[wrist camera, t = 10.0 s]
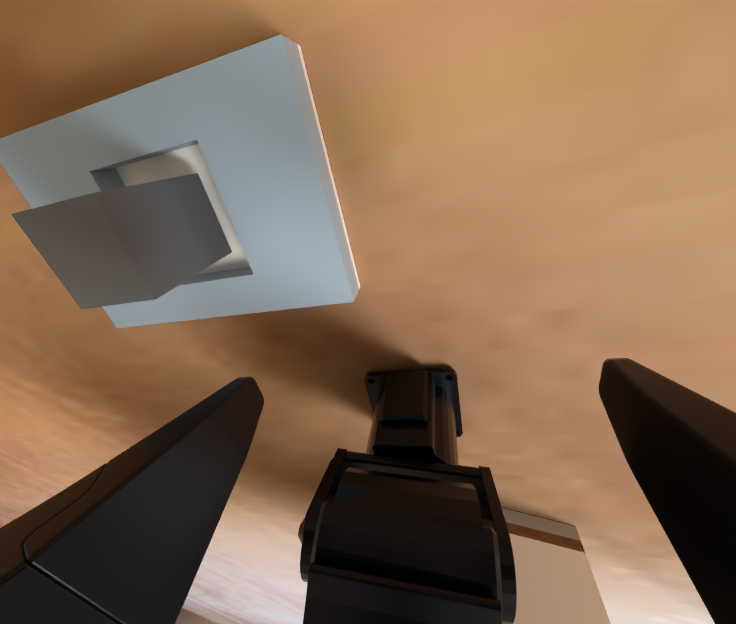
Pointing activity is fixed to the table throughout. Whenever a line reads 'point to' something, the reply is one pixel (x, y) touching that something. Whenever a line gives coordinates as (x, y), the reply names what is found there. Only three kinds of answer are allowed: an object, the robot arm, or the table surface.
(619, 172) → the table surface
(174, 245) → the plug
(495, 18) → the table surface
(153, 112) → the socket
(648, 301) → the table surface
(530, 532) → the white dispenser
